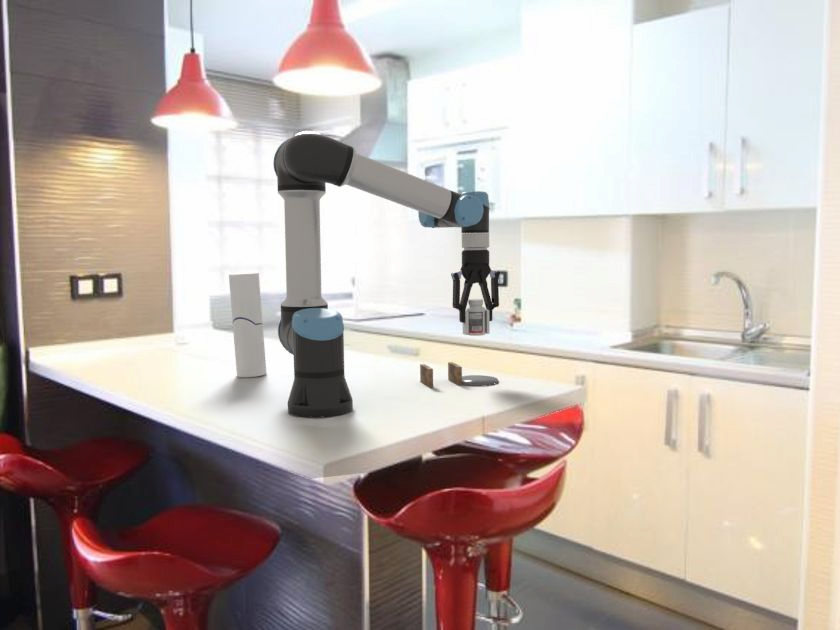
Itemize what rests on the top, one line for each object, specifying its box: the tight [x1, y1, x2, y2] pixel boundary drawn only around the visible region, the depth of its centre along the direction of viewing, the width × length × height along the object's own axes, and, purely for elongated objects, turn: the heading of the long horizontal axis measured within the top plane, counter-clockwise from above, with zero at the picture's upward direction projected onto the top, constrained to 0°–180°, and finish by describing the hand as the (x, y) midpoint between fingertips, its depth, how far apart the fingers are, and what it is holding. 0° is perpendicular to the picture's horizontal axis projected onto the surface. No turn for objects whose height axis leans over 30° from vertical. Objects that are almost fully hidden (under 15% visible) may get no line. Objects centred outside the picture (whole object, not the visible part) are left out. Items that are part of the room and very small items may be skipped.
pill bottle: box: [466, 298, 486, 337], centre depth 192 cm, size 5×5×10 cm
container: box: [228, 272, 267, 378], centre depth 207 cm, size 9×9×30 cm
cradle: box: [419, 361, 463, 389], centre depth 192 cm, size 8×9×5 cm
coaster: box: [461, 374, 499, 387], centre depth 194 cm, size 12×12×1 cm
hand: (476, 333), depth 193 cm, fingers closed on pill bottle, 5 cm apart
